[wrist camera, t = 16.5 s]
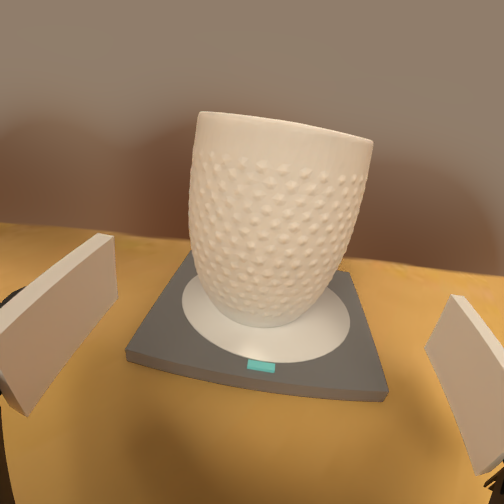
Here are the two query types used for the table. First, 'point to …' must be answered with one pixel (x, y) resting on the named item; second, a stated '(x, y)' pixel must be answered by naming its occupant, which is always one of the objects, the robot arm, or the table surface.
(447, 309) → the robot arm
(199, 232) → the mug
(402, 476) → the table surface
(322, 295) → the kitchen scale
